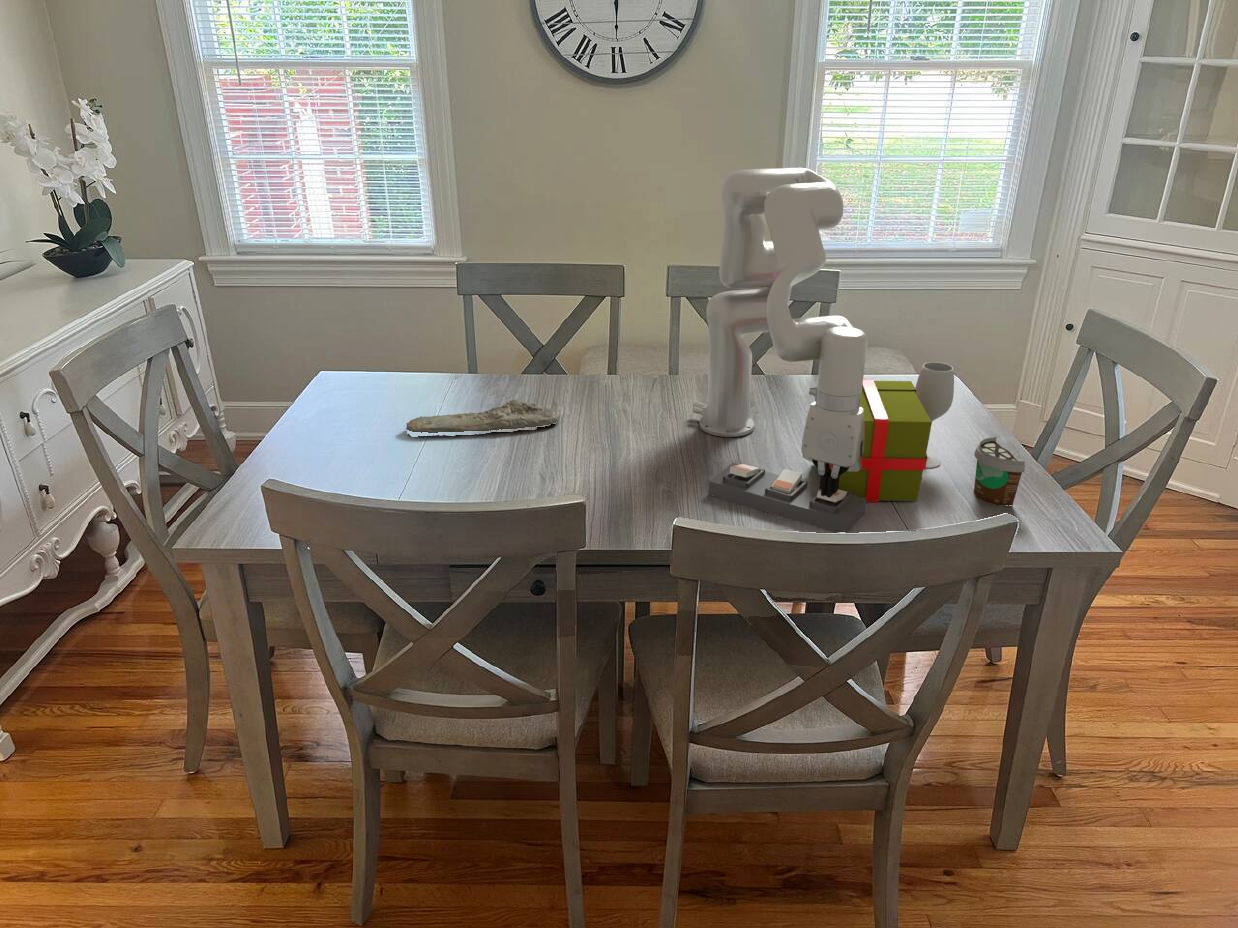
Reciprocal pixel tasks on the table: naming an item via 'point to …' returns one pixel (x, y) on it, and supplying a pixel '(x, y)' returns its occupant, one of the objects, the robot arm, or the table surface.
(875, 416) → the gift box
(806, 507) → the power strip
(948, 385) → the wineglass
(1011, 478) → the food container
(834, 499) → the rocker
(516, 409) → the elongated rock
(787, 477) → the rocker
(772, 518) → the table surface
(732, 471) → the rocker
